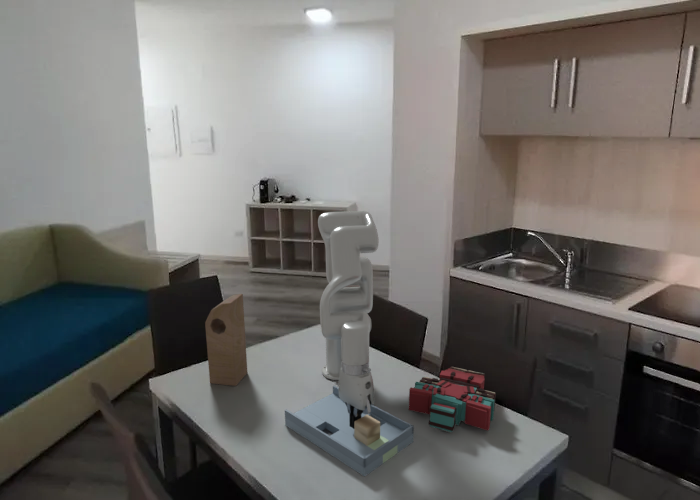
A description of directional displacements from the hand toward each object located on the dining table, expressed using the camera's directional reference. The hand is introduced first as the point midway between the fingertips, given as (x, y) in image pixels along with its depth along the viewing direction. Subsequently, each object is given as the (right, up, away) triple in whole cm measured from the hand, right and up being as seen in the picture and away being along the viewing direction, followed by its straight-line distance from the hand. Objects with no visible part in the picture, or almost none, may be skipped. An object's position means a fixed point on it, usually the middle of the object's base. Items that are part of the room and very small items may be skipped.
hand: (355, 425), depth 138 cm
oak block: (+3, -2, -3) cm, 5 cm away
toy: (+31, -1, +15) cm, 35 cm away
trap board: (-2, -3, +3) cm, 5 cm away
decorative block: (-44, +4, +36) cm, 57 cm away
